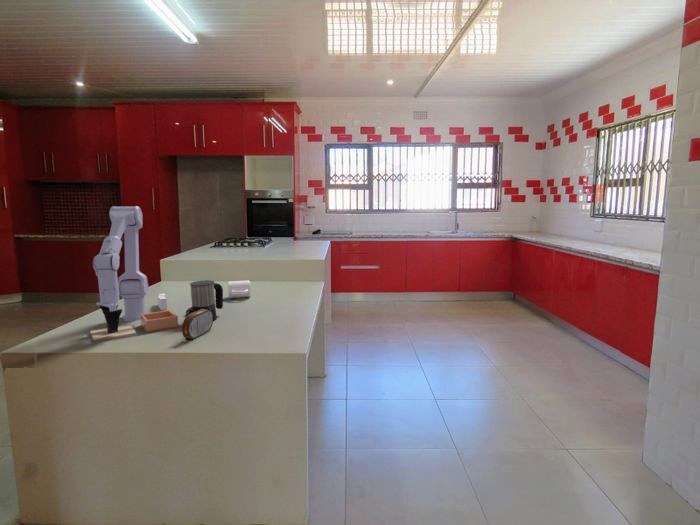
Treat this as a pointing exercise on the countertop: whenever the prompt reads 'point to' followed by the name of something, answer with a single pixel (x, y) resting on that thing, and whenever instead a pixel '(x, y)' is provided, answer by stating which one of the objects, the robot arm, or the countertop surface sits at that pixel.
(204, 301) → the milk frother
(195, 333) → the tin
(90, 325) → the countertop surface
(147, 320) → the terracotta dish
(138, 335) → the slate mat
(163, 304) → the napkin holder
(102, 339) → the birch lid
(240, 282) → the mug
